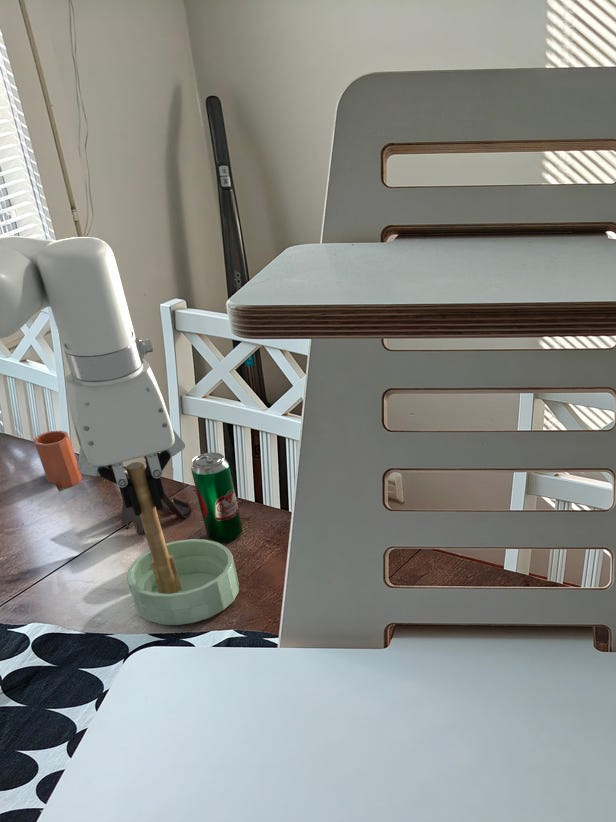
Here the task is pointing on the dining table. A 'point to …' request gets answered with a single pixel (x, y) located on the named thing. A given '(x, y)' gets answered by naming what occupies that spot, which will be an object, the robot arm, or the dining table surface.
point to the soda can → (216, 497)
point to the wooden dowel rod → (154, 533)
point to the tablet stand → (174, 507)
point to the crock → (58, 459)
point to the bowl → (186, 583)
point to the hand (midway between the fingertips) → (146, 506)
